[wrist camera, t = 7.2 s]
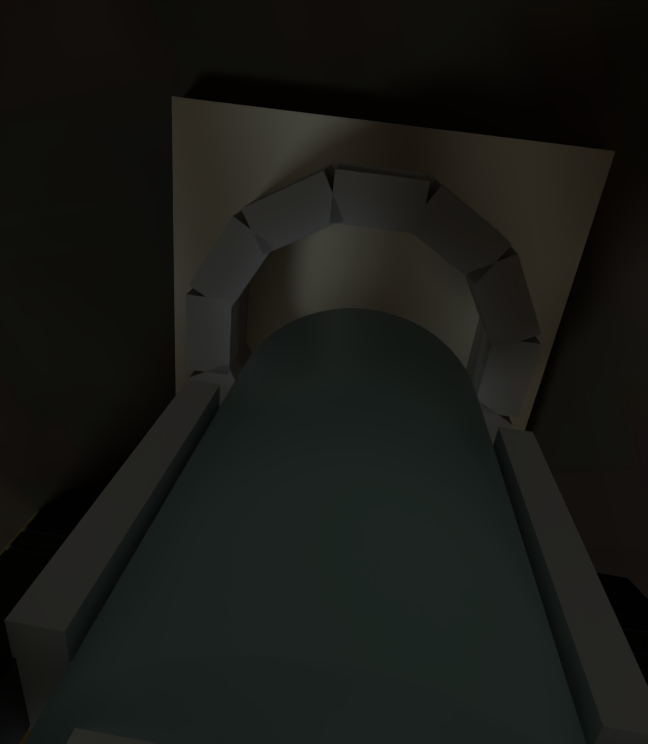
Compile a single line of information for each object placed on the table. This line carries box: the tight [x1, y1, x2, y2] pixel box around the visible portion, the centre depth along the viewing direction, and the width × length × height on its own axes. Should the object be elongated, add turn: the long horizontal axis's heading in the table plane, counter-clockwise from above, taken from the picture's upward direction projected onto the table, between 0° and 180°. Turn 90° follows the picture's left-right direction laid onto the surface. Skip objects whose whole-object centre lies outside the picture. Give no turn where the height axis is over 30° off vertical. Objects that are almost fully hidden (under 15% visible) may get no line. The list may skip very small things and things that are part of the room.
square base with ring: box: [172, 97, 615, 444], centre depth 19 cm, size 14×14×4 cm
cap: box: [24, 308, 586, 744], centre depth 10 cm, size 6×6×10 cm
